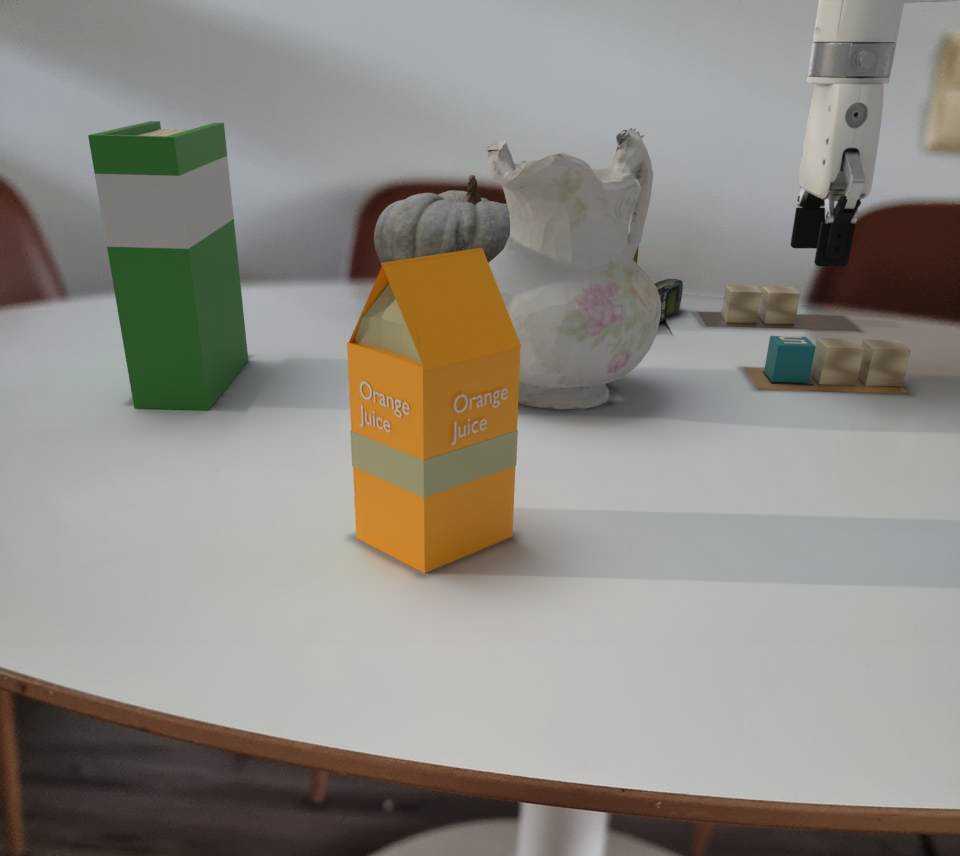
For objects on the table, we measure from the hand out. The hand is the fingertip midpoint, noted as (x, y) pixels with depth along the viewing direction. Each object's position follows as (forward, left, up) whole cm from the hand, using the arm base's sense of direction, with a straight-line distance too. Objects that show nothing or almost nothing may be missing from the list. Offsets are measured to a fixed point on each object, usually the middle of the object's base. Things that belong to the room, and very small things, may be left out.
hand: (817, 256), depth 101 cm
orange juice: (+37, +43, -14) cm, 59 cm away
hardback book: (+65, +6, -14) cm, 67 cm away
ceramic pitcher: (+26, +6, -14) cm, 30 cm away
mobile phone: (+12, -27, -14) cm, 32 cm away
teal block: (+1, 0, -13) cm, 13 cm away
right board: (-3, 0, -13) cm, 14 cm away
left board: (-4, -27, -13) cm, 30 cm away
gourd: (+38, -33, -14) cm, 52 cm away
